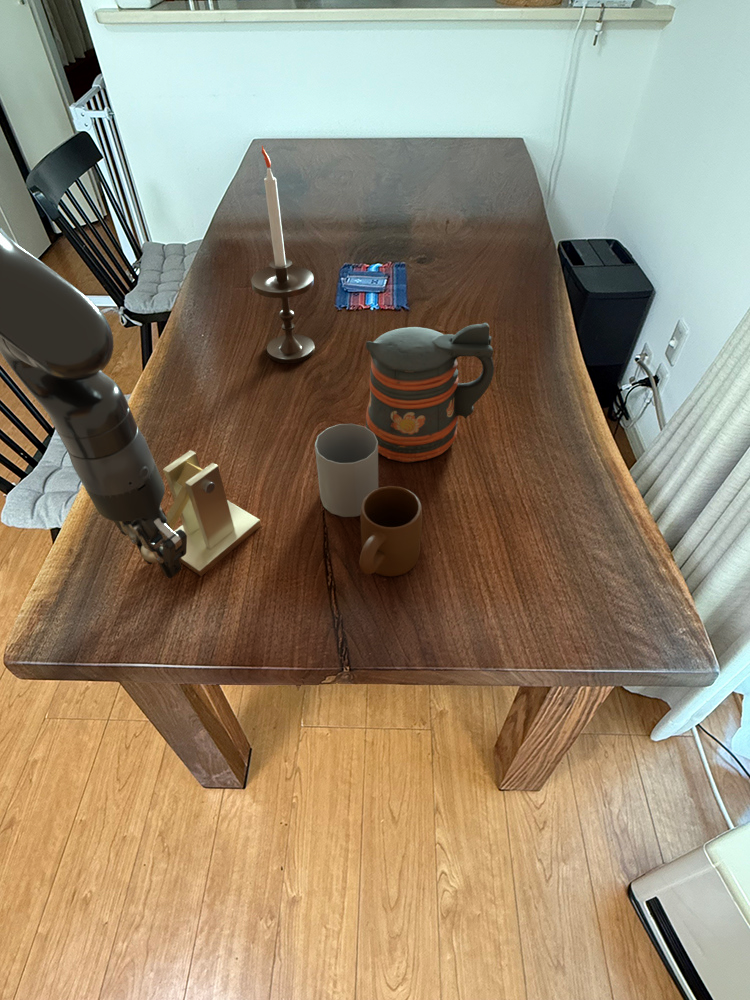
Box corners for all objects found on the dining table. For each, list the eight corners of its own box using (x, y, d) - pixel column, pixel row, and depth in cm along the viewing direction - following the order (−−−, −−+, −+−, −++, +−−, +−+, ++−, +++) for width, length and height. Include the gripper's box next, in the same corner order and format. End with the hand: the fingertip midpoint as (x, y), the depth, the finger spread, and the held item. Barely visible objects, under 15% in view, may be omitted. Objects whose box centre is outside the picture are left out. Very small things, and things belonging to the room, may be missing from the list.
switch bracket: (201, 576, 77) (176, 507, 68) (160, 548, 80) (132, 479, 71) (261, 525, 83) (246, 455, 74) (221, 501, 86) (202, 432, 77)
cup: (328, 473, 90) (323, 420, 83) (381, 479, 89) (381, 426, 82) (315, 513, 84) (308, 460, 77) (372, 520, 83) (371, 467, 76)
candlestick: (251, 356, 114) (214, 150, 89) (285, 331, 120) (259, 132, 95) (297, 372, 110) (273, 161, 85) (330, 345, 116) (316, 142, 91)
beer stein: (477, 406, 102) (493, 295, 88) (487, 464, 91) (507, 348, 77) (366, 406, 102) (363, 295, 88) (364, 463, 92) (361, 348, 77)
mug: (393, 613, 72) (394, 565, 66) (337, 593, 75) (332, 544, 68) (427, 544, 80) (431, 494, 73) (375, 527, 82) (375, 478, 76)
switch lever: (165, 568, 74) (147, 565, 71) (149, 556, 75) (130, 553, 73) (216, 476, 74) (199, 469, 72) (198, 466, 76) (182, 459, 73)
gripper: (48, 462, 64) (105, 559, 77) (130, 518, 58) (178, 614, 71) (106, 425, 68) (152, 523, 81) (188, 474, 62) (224, 572, 75)
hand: (164, 565), depth 76 cm, fingers closed on switch lever, 3 cm apart
